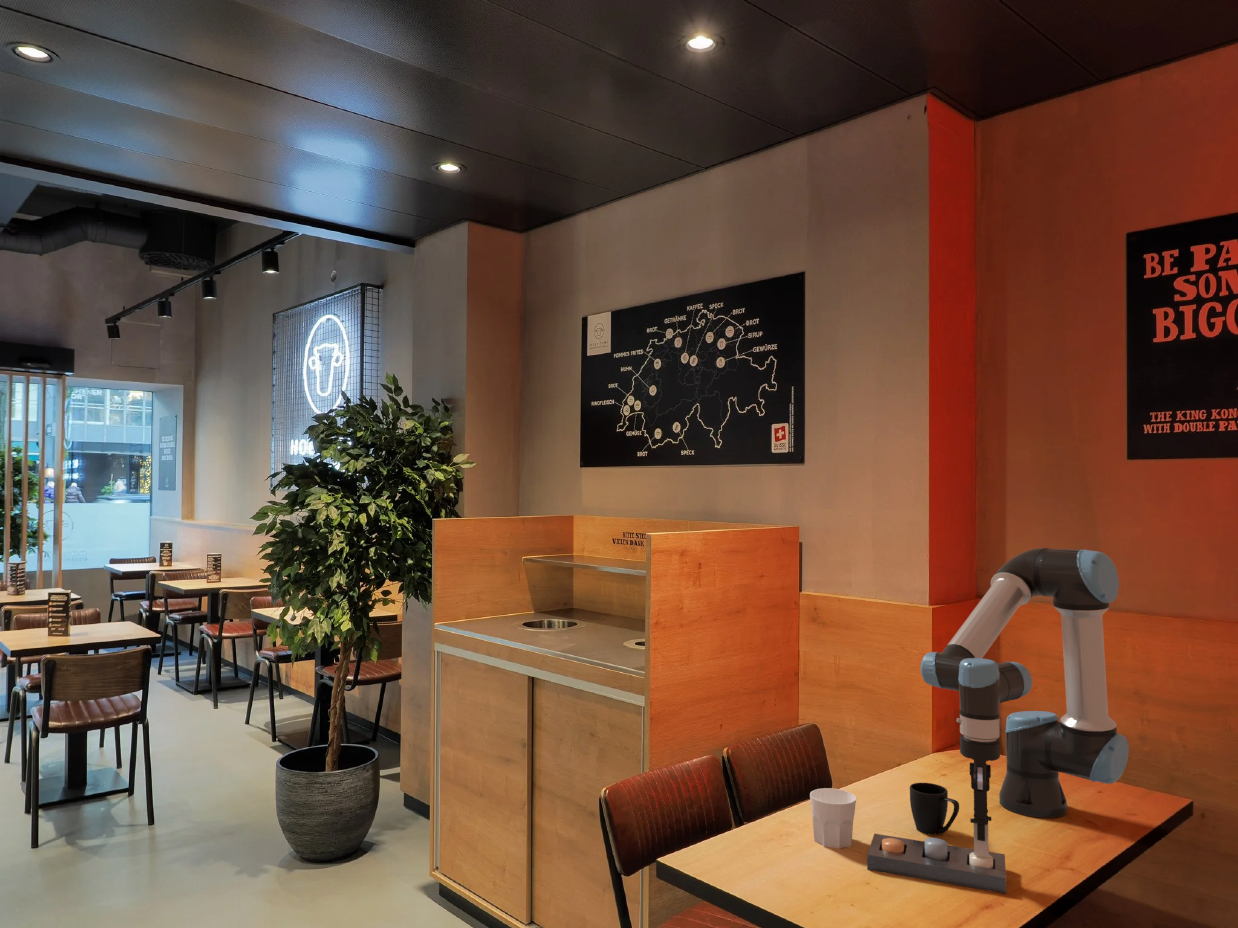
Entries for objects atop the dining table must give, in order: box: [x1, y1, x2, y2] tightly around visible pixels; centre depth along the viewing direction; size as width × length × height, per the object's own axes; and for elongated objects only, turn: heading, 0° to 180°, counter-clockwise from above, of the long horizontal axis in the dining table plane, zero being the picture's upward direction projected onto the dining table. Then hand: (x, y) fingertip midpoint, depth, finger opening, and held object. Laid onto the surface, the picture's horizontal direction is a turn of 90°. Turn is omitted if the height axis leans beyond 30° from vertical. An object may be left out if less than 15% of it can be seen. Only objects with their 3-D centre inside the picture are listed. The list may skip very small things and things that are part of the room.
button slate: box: [924, 837, 948, 861], centre depth 173 cm, size 4×4×4 cm
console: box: [866, 833, 1007, 895], centre depth 173 cm, size 26×12×3 cm, turn 66°
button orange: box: [882, 838, 904, 854], centre depth 177 cm, size 4×4×4 cm
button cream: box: [969, 852, 993, 869], centre depth 170 cm, size 4×4×4 cm
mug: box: [909, 782, 960, 836], centre depth 192 cm, size 8×12×10 cm
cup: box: [809, 787, 857, 850], centre depth 187 cm, size 10×10×10 cm
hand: (981, 854), depth 170 cm, fingers closed
